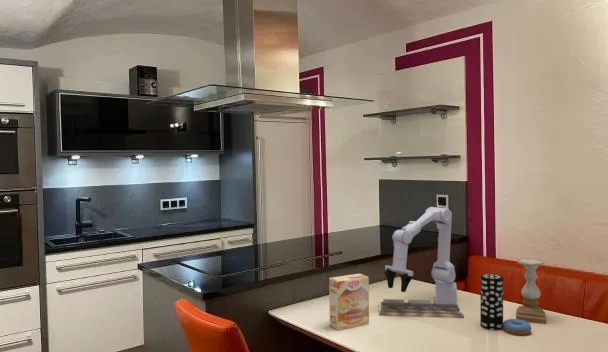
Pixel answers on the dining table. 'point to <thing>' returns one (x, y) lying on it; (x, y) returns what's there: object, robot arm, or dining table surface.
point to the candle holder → (531, 294)
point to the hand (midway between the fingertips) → (396, 289)
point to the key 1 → (393, 302)
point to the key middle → (419, 303)
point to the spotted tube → (491, 302)
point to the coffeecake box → (349, 301)
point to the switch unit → (420, 311)
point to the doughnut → (517, 326)
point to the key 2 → (445, 304)
